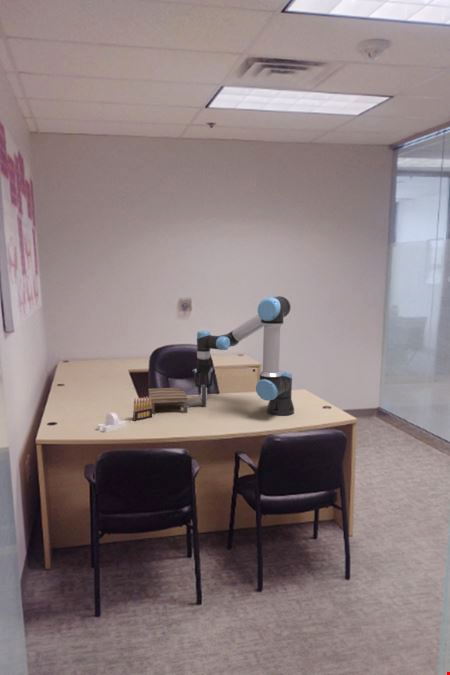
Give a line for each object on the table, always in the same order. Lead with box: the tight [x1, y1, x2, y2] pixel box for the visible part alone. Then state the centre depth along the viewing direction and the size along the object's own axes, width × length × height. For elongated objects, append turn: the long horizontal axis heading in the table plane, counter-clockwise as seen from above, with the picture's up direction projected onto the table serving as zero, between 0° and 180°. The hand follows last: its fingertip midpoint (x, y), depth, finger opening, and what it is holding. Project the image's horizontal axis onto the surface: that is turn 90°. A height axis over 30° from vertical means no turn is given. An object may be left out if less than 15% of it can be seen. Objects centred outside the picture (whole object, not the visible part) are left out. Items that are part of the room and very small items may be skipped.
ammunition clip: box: [132, 395, 153, 422], centre depth 265 cm, size 11×2×12 cm, turn 129°
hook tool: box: [178, 384, 207, 409], centre depth 289 cm, size 7×15×12 cm, turn 102°
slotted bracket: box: [97, 412, 127, 433], centre depth 250 cm, size 13×7×8 cm, turn 140°
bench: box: [148, 387, 188, 415], centre depth 286 cm, size 24×20×8 cm
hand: (203, 398), depth 290 cm, fingers closed on hook tool, 2 cm apart
